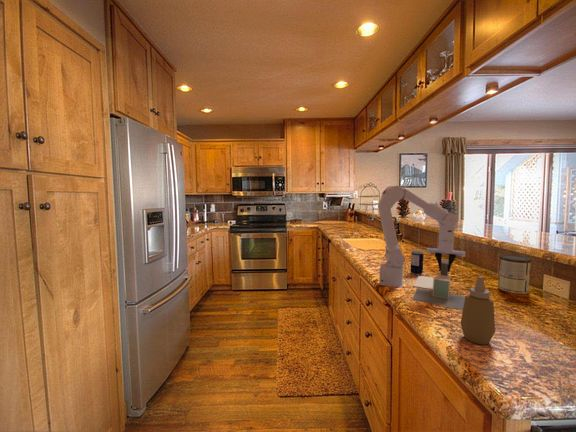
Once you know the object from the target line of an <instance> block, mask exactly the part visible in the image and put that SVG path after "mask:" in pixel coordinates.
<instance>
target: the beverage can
mask: <svg viewBox="0 0 576 432" xmlns="http://www.w3.org/2000/svg"><path fill="white" fill-rule="evenodd" d="M424 254H425V253H424V251H423V250H421V249H412V250H411V253H410V273H411V274H412V275H415V276H422V274H423V272H424V256H425V255H424Z"/></svg>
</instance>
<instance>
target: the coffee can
mask: <svg viewBox="0 0 576 432" xmlns="http://www.w3.org/2000/svg"><path fill="white" fill-rule="evenodd" d="M531 262H532V259H531V258H530V257H527V256H523V255H518V254H517V255H514V254H500V255H499V269H498V270H499V271H498V282H497V283H498V285H497V288H498V289H500V290H501V291H504V292H506V293H507V292H508V293H512V294H517V295H518V294H519V295H523V294H525V295H526V294H529V290H530V289H529V288H530V275H531V274H530V273H531Z"/></svg>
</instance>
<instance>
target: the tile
mask: <svg viewBox="0 0 576 432" xmlns="http://www.w3.org/2000/svg"><path fill="white" fill-rule="evenodd" d="M433 278H434V280H433V290H432V291H433V296H436V297H442V298H447V299H449V294H450V289H451V288H450V287H451V279H450V280H447V279H440V278H436V277H433Z"/></svg>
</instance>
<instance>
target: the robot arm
mask: <svg viewBox="0 0 576 432" xmlns="http://www.w3.org/2000/svg"><path fill="white" fill-rule="evenodd" d="M402 200H405V201H408V202H409V203H411V204H413V205H415V206H417V207H419V208H421V209H422V210H423V211H422V212H423V214H425V215H427V216H429V217H430V218H432V219H433V220H435V221H436V222H437V223H438V224H439V228H438V229H439V231H438V246H437V247H435V248H434V247H427V248H426V253H427V254H430V253H431V254H434V257H435V259H436V262H437V265H438V269H439V271H440V272H441V262H442V260H443V255H446V256H448V260H449V263H448V273H450V270H451V267H452V265H453V263H454V261H455V259H456V256H457V257H462V258H463V257H464V258H465V257H466V251H462V250H455V249H454V244H455V243H454V241H455V227H456V225H457V224H458V222H459V219H458V217H457V215H456V214H455V213H453V212H449V211H448V210H449V209H447V208H443V207H441V206H440V205H439V203H437V202H433V201H432V202H427V201H425V199H422V198H421V197H420V196H418V195H416V194H415V193H413V192H412V191H410V190H409V189H407V188H405V187H404V188H403V187H402V186H400V185H390V186H387V187H386V188H385V189H384V190H383V191H382V193H381V197H380V200H379V202H378V205H377V208H378V213H379V218H380V223H381V228H382V232H383V237H384V241H385V252H384V253H385V254H384V257H385V259H386V262H385V263H381V264H380V266H379V267H380V268H379V277H378V278H379V280H378V282H379V283H378V285H380V286H385V287H394V288H400V289H401V288H402V287H403V286H404V285H405V282H403V277H404V276H403V275H404V264H405V261H406V259H405V256H404V254H403V253H402V249H401V247H400V245H399V242H398V239H397V234H396V233H397V232H396V228H395V224H394V219H393V213H392V208H393V206H394V205H395V204H396V203H397V202H399V201H402Z"/></svg>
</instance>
